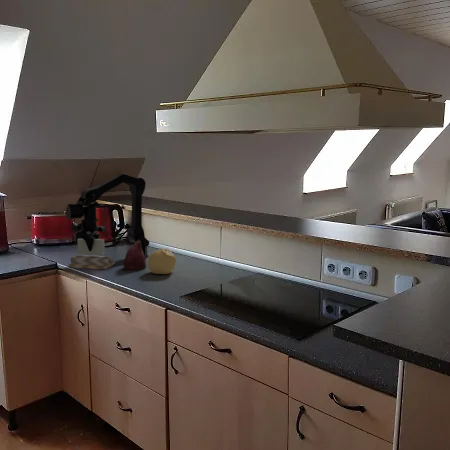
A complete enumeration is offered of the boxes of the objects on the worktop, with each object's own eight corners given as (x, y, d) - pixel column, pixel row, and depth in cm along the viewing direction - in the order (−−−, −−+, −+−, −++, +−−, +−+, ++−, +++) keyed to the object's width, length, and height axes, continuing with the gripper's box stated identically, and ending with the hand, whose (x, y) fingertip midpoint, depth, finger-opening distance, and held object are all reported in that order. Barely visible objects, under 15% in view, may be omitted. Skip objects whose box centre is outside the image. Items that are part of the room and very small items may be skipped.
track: (114, 263, 227) (114, 255, 226) (105, 269, 217) (105, 260, 216) (79, 262, 230) (79, 253, 229) (68, 267, 220) (68, 258, 220)
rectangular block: (104, 254, 223) (104, 239, 222) (102, 255, 220) (101, 240, 219) (80, 253, 225) (79, 238, 224) (78, 254, 223) (77, 239, 222)
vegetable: (149, 274, 221) (157, 243, 219) (133, 276, 213) (142, 244, 210) (133, 265, 227) (141, 235, 224) (117, 266, 218) (125, 235, 215)
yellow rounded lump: (179, 274, 208) (178, 250, 206) (151, 277, 203) (151, 252, 202) (172, 268, 218) (171, 245, 217) (145, 271, 214) (145, 247, 212)
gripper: (83, 213, 230) (85, 245, 233) (63, 219, 212) (65, 254, 215) (105, 214, 228) (106, 246, 231) (86, 220, 210) (88, 255, 213)
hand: (91, 250), depth 222 cm, fingers closed on rectangular block, 2 cm apart
